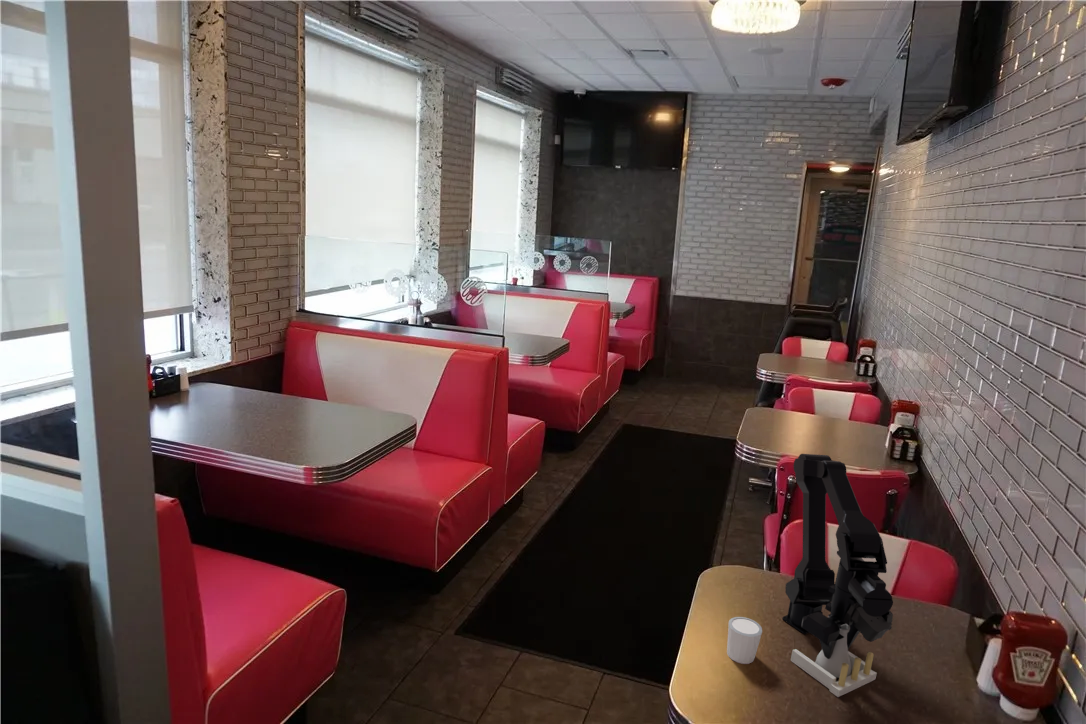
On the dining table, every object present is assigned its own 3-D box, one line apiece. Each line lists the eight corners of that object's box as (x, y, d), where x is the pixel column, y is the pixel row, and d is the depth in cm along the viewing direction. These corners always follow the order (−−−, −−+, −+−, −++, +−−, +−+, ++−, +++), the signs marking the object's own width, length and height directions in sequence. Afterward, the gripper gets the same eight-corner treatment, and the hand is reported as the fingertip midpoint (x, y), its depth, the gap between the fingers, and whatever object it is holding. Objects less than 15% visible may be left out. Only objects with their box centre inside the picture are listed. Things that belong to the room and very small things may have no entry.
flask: (855, 682, 146) (864, 639, 143) (817, 675, 147) (826, 632, 145) (847, 660, 153) (857, 618, 150) (812, 653, 154) (820, 611, 151)
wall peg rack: (788, 661, 152) (793, 636, 150) (826, 645, 158) (830, 621, 157) (837, 697, 142) (843, 670, 141) (875, 679, 148) (881, 653, 147)
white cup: (759, 651, 154) (764, 622, 153) (754, 670, 148) (759, 640, 146) (727, 641, 157) (732, 612, 155) (720, 658, 151) (725, 629, 149)
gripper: (856, 620, 134) (840, 692, 138) (915, 596, 143) (898, 664, 147) (806, 589, 143) (793, 657, 147) (865, 569, 152) (851, 633, 156)
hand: (835, 654), depth 149 cm, fingers closed on flask, 5 cm apart
